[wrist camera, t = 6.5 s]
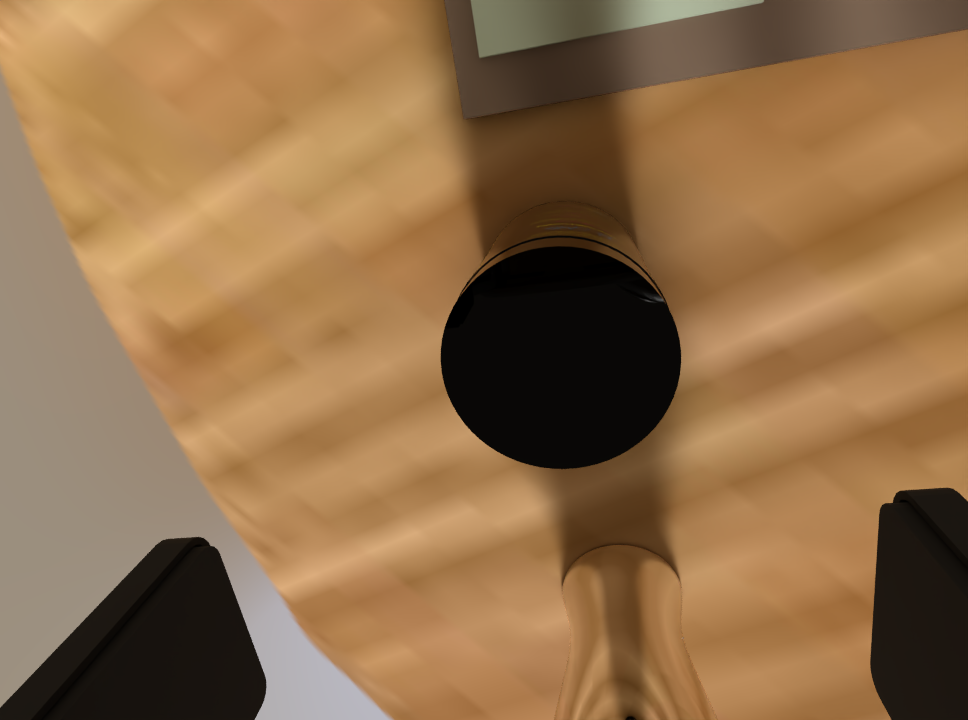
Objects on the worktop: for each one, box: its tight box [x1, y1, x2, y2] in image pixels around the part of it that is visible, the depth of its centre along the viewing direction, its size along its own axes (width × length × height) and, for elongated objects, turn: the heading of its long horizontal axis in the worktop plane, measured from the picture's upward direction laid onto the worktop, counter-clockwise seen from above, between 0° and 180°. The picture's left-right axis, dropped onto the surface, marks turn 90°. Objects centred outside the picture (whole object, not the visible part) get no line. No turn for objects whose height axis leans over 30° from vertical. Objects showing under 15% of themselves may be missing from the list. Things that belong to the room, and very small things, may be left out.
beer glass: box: [554, 545, 718, 720], centre depth 26 cm, size 7×7×15 cm
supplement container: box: [441, 201, 681, 469], centre depth 22 cm, size 7×7×10 cm
